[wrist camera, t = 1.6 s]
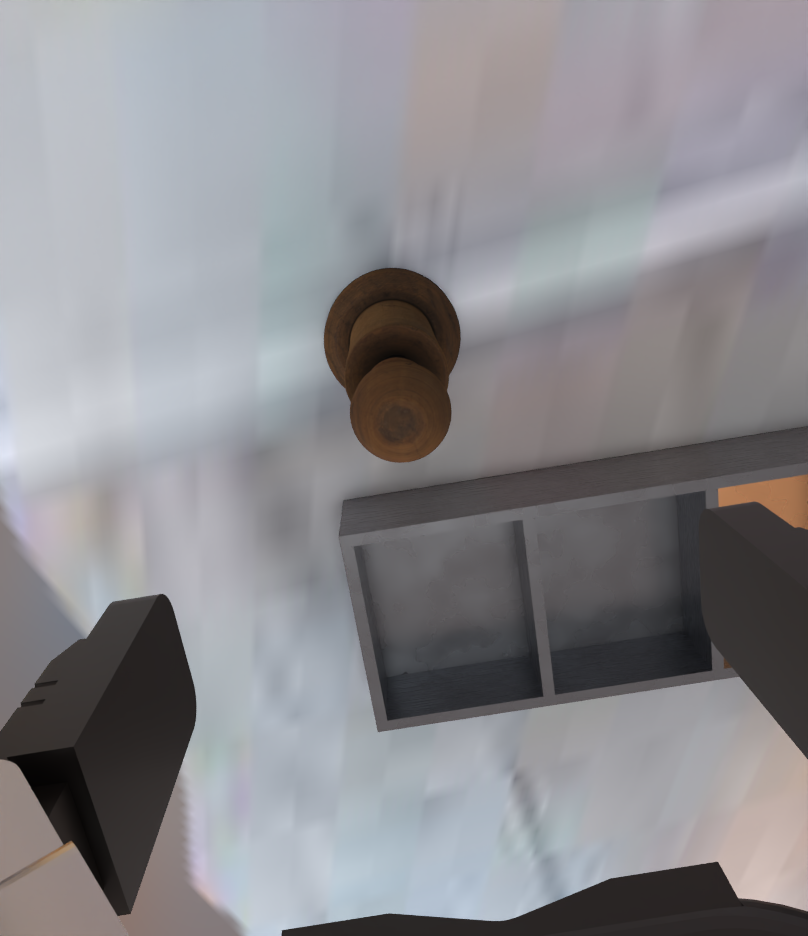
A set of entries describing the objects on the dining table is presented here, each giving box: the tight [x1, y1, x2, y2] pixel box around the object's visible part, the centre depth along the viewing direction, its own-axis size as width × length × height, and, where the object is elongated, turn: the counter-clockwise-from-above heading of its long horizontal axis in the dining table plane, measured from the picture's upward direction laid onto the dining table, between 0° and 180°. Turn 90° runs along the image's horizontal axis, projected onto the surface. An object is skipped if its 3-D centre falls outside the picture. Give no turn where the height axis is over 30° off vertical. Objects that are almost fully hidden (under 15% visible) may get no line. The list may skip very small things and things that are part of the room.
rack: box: [339, 426, 808, 732], centre depth 41 cm, size 27×12×5 cm, turn 99°
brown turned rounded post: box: [324, 268, 460, 462], centre depth 30 cm, size 7×6×18 cm
